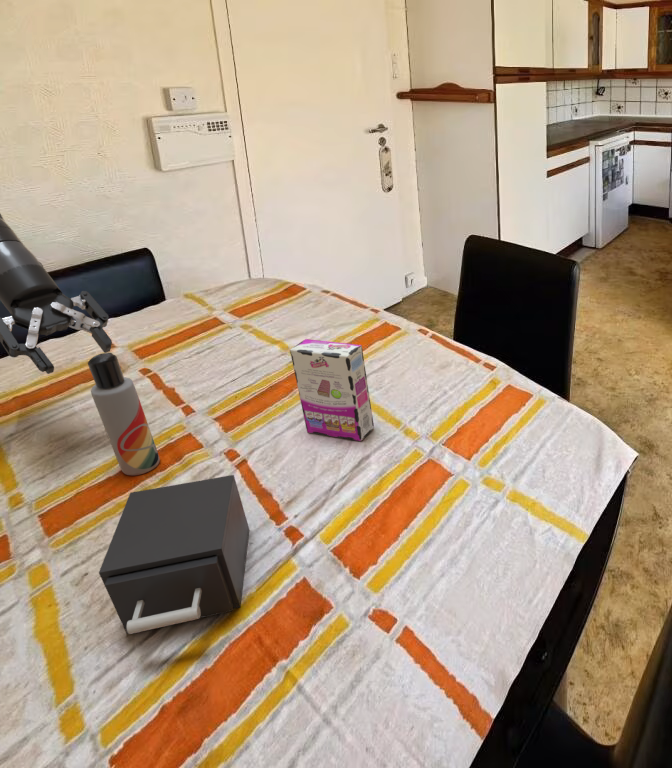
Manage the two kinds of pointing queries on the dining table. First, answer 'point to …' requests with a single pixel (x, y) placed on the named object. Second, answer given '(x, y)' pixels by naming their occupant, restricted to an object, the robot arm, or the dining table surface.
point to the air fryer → (182, 530)
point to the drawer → (169, 594)
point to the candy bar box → (333, 388)
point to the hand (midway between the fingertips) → (80, 360)
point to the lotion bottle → (122, 416)
